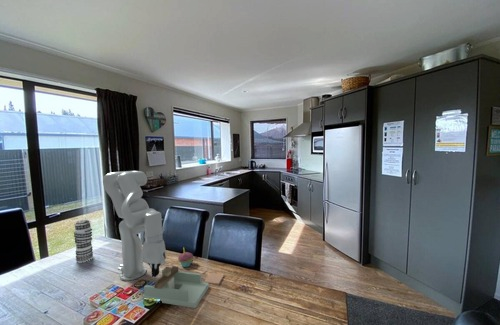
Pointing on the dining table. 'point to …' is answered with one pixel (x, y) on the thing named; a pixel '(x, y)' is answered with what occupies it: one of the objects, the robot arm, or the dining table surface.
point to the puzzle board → (180, 290)
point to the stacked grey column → (83, 241)
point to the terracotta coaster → (214, 278)
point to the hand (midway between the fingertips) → (155, 275)
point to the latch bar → (166, 276)
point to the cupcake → (185, 258)
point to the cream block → (170, 283)
